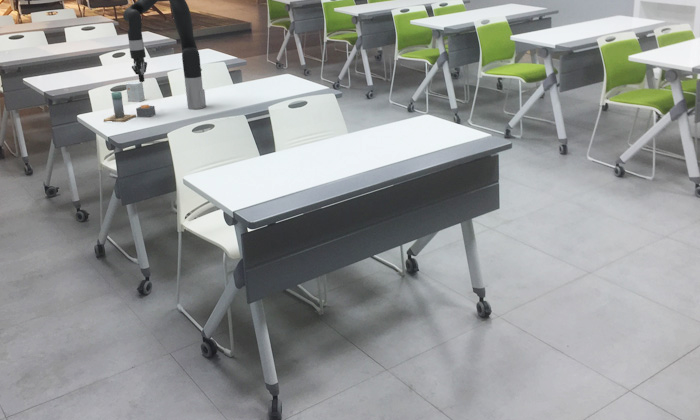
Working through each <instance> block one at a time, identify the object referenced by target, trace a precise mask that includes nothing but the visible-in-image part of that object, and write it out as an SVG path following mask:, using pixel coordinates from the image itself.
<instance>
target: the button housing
mask: <svg viewBox="0 0 700 420" xmlns="http://www.w3.org/2000/svg"><path fill="white" fill-rule="evenodd" d="M154 115H156V106H155V105H149V108H141V106H139V107H137V108H136V117H137V118H151V117H153V116H154Z"/></svg>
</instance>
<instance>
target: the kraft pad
mask: <svg viewBox="0 0 700 420" xmlns="http://www.w3.org/2000/svg"><path fill="white" fill-rule="evenodd" d="M124 116H125V117H123V118H115V114H113V115H111V116H109V117H106V118H104V119H103V122H107V121H112V122H113V123H114V122H115V123H116V122H117V123H118V122H119V123H125V122H127V121H129V120H132V119H133V118H136V117H137V114H124ZM112 122H111V123H112Z"/></svg>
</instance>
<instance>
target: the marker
mask: <svg viewBox="0 0 700 420" xmlns="http://www.w3.org/2000/svg"><path fill="white" fill-rule="evenodd" d="M111 99H112V105H113V112H114V115H115V118H123V117H125V116H124V115H125V110H124V104H123V95H122V91H113V92H111Z"/></svg>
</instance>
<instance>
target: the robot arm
mask: <svg viewBox="0 0 700 420" xmlns="http://www.w3.org/2000/svg"><path fill="white" fill-rule="evenodd" d="M157 2H159V0H137V1H136V2H134V3H132V4H131V5H130V6H128V7H127V8H126V9H125V10H124V12H123V14H122V16H123V17H122V18H123V20H124V21H125V22H126V23H128V29H127V36H128V37H127V38H128V47H129V54H130V59H133V65H132V66H131V69H132V70H133V72H134V73H135V75H137V76H138V79H139V82H142V83H144V82H145V73H147V66H148V62H147V61H145V58H146V48H145V43H144V39H143V33H142V25H143V24H142V23H143V21H142V15H143V14H144V13H147V12H148V11H149V10H150V9H151V8H152V7H153V6H154V5H155V4H157ZM169 3H170V8H171V13H172V17H173V21H174V25H175V29H176V30H177V31H176V32H177V33H178V36H179V40H180V45H181V57H182V58H181V60H182V66H183V69H182V70H183V75H184V76H183V77H184V84H185V85H184V86H185V93H186V103H187V109H189V110H199V109H204V108H206V107H207V102H206V92H205V89H204V87H203V78H202V67H201V66H202V65H201V58H200V52H199V50H198V47H197V44H196V40H195V37H194V29H193V27H194V26H193V21H192V15H191V11H190V8H189V5H188V3H187V1H186V0H169Z"/></svg>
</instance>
